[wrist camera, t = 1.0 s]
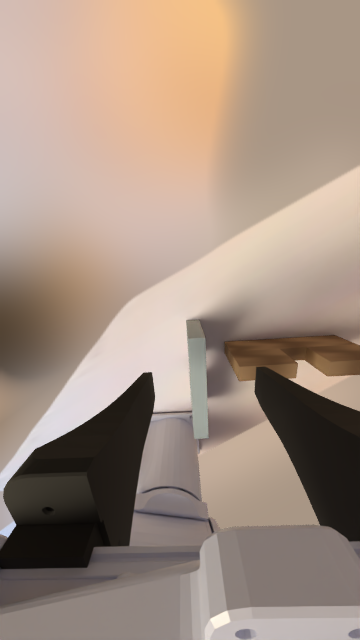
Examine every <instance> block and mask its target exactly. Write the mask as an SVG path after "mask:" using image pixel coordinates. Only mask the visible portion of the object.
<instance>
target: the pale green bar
mask: <svg viewBox="0 0 360 640" xmlns="http://www.w3.org/2000/svg"><path fill="white" fill-rule="evenodd" d="M186 324H187V340H188V355H189V369H190V388H191V403H192V417H193V431H194V439H204V438H208V406H207V373H206V341H205V335H204V332H203V330H202V327H201V324H200V321H199V320H188V321H186Z"/></svg>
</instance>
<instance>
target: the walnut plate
mask: <svg viewBox="0 0 360 640" xmlns="http://www.w3.org/2000/svg"><path fill="white" fill-rule="evenodd" d="M225 355H226V357H227V359H228V361H229V362H230V364H231V366H232V368H233V370H234V372H235V374H236V376H237V378H238V380H239V381H250V380H255V378H256V367H267V368H269V369H271V370H273V371H275V372H277V373H278V374H280V375H282V376H284V377H285V378H287V379H288V378H296V374H297V367H298V363H297V362H295V361H294V360H305V361H307V362H308V363H310V364H311V365H312V366H314V367H315V368H316V369H318V370H319V371H321V372H322V373H323V374H325V375H326V376H345V375H360V345H357V344H355V343H352V342H350V341H348V340H345V339H343V338H340V337H338V336H335V335H329V336H313V337H296V338H279V339H263V340H246V341H229V342H225Z"/></svg>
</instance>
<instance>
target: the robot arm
mask: <svg viewBox="0 0 360 640" xmlns="http://www.w3.org/2000/svg"><path fill="white" fill-rule="evenodd" d="M255 395H256V397H257V399H258V402H259V404H260V406H261V408H262V410H263V411H264V413H265V415H266V416H267V418H268V420H269V421H270V423H271V425H272V426H273V428H274V430H275V431H276V433H277V435H278V436H279V438H280V440H281V441H282V443H283V445H284V447H285V449H286V451H287V453H288V455H289V457H290V459H291V461H292V463H293V465H294V467H295V469H296V472H297V474H298V476H299V478H300V480H301V482H302V485H303V487H304V489H305V491H306V493H307V496H308V498H309V500H310V503H311V505H312V507H313V510H314V512H315V514H316V516H317V519H318V521H319V524H320V526H319V525H281V526H241V527H230V528H224V529H220V528H219V527H218V525H217V522H216V521H215V519H213V518H212V517H208V509H207V503H206V502H202V498H201V486H200V477H199V476H200V475H199V463H198V454H199V452H200V450H199V439H194V431H193V417H192V412H185V413H164V414H153V409H154V401H155V392H154V385H153V377H152V372H148V373H143V374H142V375H141V376H140V377H139V378H138V379H137V380H136V381H135V382H134V383H133V384H132V385H131V386H130V387H129V388H128V389H127V390H126V391H125V392H124V393H123V394H122V395H121V396H120V397H119V398H117V399H116V400H115V401H114V402H113V403H112V404H110V405H109V406H108V407H107V408H105V409H104V410H103V411H101V412H100V413H99V414H97V415H96V416H94V417H93V418H91V419H90V420H88V421H87V422H85V423H84V424H82V425H80V426H79V427H77V428H75V429H74V430H72V431H70V432H68V433H67V434H65V435H63V436H61V437H59V438H57V439H55V440H53V441H51V442H49V443H47V444H45V445H43V446H41V447H39V448H37V449H35V450H34V451H33V452H32V454H31V455H30V456H29V457H28V458H27V460H26V461H25V462H24V463H23V464H22V466H21V467H20V468H19V469H18V470H17V472H16V473H15V474H14V475H13V476H12V478H11V479H10V480H9V481H8V482H7V484H6V486H5V488H4V494H3V495H4V496H3V497H4V501H5V504H6V506H7V508H8V510H9V512H10V513H11V515H12V517H13V519H14V521H15V523H16V527H15V528H14V530H13V531H12V533H11V534H10V536H9V537H8V538H7V537H6V536H4V535H0V640H360V411H357V410H354V409H352V408H349V407H346V406H344V405H341V404H339V403H336V402H334V401H331V400H329V399H327V398H325V397H322V396H320V395H318V394H316V393H314V392H312V391H310V390H308V389H306V388H304V387H302V386H300V385H298V384H296V383H294V382H293V381H291V380H289V379H287V378H285V377H284V376H282V375H280V374H278V373H277V372H275V371H273V370H271V369H269V368H267V367H256V378H255Z"/></svg>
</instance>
